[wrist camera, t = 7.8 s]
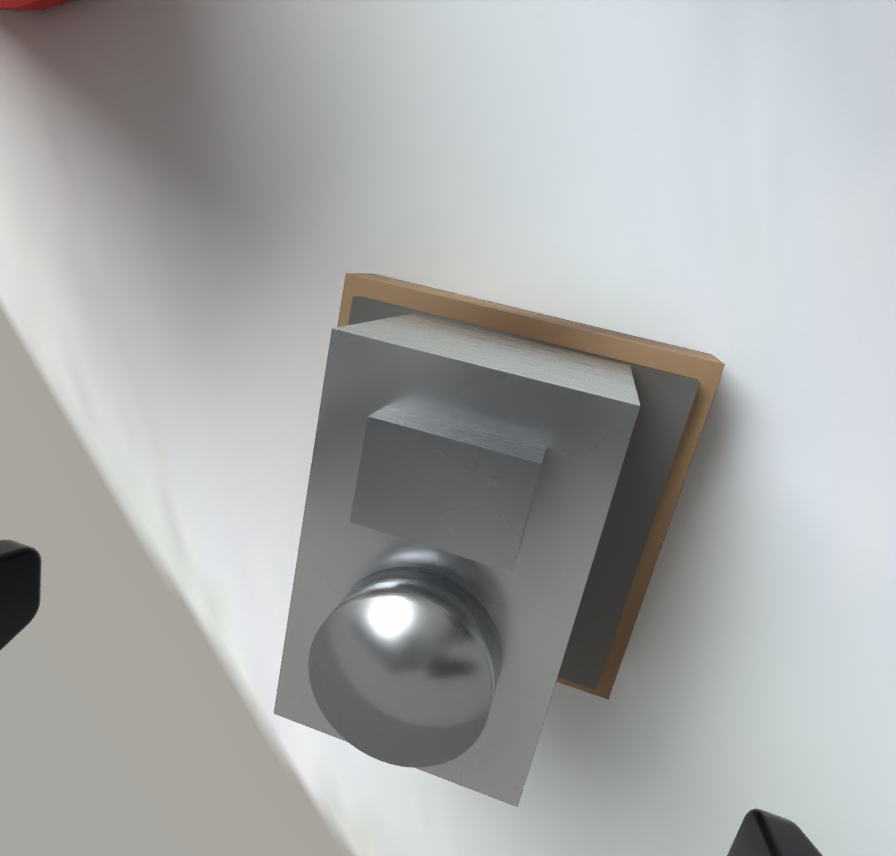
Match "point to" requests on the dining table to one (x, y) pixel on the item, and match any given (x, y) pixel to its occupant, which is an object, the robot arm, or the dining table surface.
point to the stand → (644, 467)
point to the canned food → (29, 4)
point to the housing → (448, 542)
